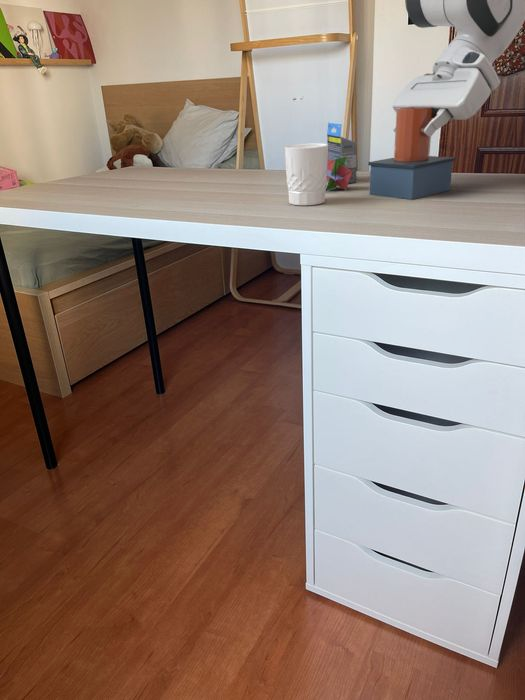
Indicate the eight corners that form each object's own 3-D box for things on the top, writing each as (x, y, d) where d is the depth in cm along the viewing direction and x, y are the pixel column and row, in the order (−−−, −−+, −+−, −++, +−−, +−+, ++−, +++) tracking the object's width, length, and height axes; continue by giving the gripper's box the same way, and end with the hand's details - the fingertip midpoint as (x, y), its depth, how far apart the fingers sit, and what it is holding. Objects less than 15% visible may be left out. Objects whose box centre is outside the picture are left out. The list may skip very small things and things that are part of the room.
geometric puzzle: (367, 177, 108) (347, 144, 108) (349, 182, 103) (329, 147, 103) (342, 197, 113) (323, 165, 113) (325, 203, 108) (305, 169, 108)
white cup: (335, 203, 97) (336, 145, 92) (296, 208, 94) (295, 148, 90) (316, 196, 103) (315, 142, 99) (279, 201, 101) (277, 146, 97)
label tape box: (357, 183, 116) (358, 122, 111) (339, 184, 115) (340, 123, 110) (342, 177, 124) (343, 121, 118) (326, 179, 123) (326, 122, 118)
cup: (408, 156, 105) (411, 106, 101) (435, 158, 100) (440, 106, 96) (387, 160, 101) (389, 109, 97) (414, 162, 97) (418, 108, 93)
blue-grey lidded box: (407, 185, 110) (409, 154, 107) (452, 190, 103) (455, 157, 100) (367, 194, 103) (368, 162, 101) (412, 200, 96) (414, 165, 93)
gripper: (413, 62, 104) (369, 120, 105) (491, 54, 87) (438, 122, 88) (429, 86, 107) (387, 142, 109) (507, 83, 90) (456, 148, 91)
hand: (410, 133), depth 98 cm, fingers open, 7 cm apart
